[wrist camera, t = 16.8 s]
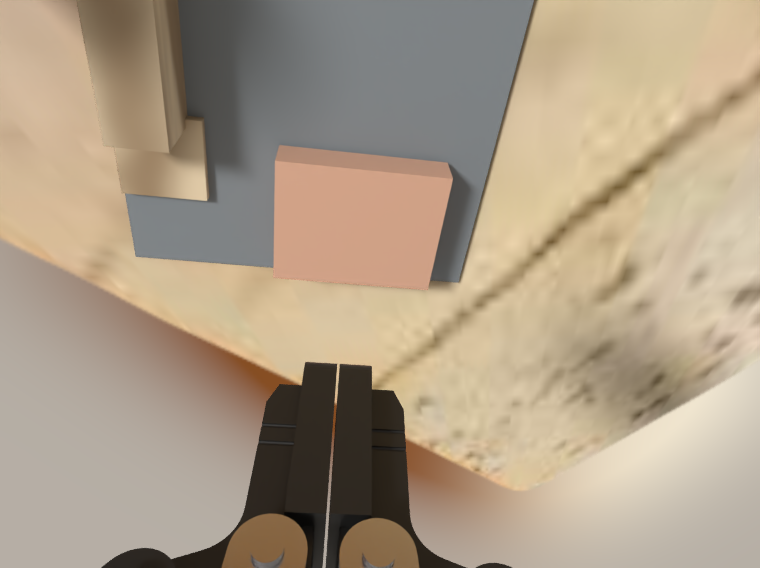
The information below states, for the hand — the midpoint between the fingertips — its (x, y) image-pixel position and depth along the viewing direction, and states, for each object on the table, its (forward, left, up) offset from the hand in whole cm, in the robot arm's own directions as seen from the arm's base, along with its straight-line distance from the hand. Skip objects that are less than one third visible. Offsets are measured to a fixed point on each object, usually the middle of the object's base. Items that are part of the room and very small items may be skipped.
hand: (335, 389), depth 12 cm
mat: (+2, +3, -22) cm, 23 cm away
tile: (+4, +7, -21) cm, 22 cm away
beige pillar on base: (+10, 0, -22) cm, 24 cm away
